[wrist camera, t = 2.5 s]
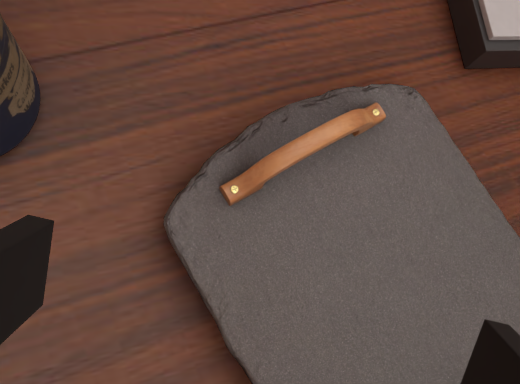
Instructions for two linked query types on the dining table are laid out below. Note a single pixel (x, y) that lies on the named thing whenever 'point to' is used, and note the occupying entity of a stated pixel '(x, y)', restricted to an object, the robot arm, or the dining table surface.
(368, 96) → the serving tray
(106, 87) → the dining table surface
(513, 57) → the scale
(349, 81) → the dining table surface
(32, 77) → the canister
